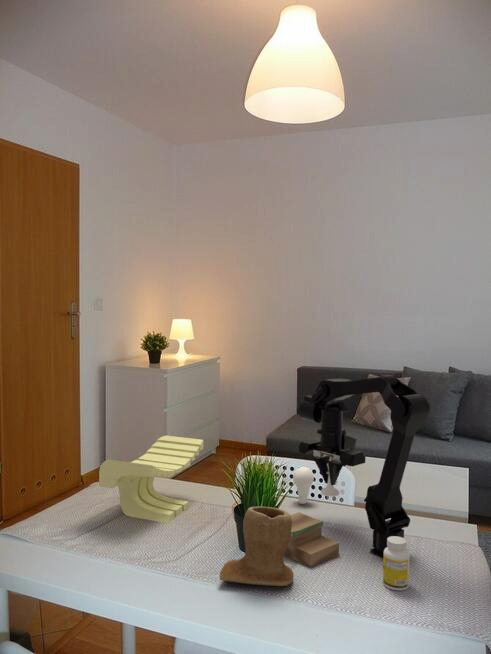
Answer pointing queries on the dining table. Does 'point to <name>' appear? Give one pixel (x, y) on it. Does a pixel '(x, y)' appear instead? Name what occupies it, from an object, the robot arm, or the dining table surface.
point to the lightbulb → (303, 482)
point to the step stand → (309, 541)
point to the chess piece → (329, 486)
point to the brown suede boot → (262, 549)
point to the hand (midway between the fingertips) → (330, 484)
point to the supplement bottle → (396, 564)
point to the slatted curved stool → (150, 478)
